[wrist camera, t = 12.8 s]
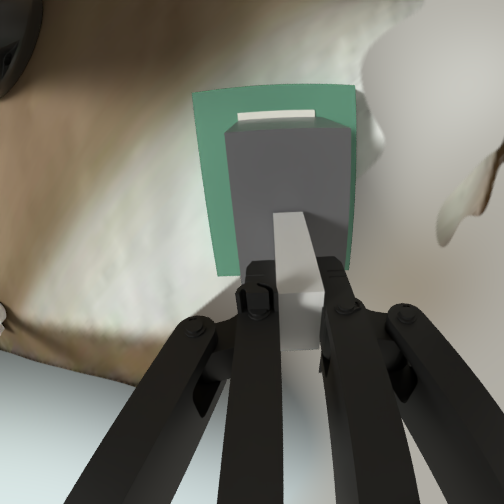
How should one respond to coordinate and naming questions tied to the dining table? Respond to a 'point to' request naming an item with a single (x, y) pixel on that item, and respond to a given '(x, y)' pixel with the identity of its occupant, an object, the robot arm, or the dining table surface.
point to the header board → (258, 107)
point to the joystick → (2, 317)
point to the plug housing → (289, 183)
